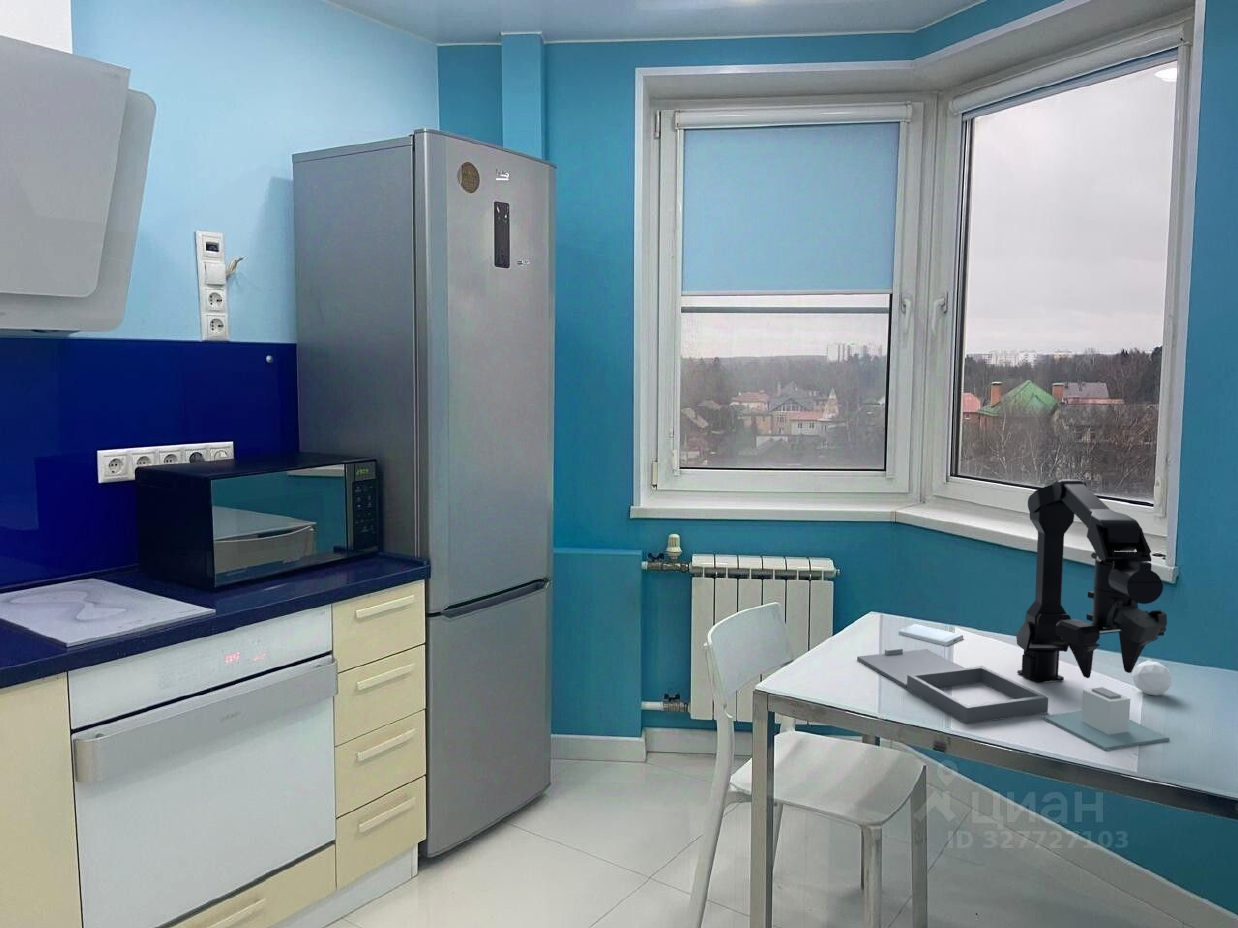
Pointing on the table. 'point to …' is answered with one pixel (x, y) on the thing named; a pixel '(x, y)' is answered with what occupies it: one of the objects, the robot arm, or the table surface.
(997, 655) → the table surface
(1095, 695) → the block
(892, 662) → the case
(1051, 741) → the table surface
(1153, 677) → the ornament
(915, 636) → the hard drive
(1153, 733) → the mat
